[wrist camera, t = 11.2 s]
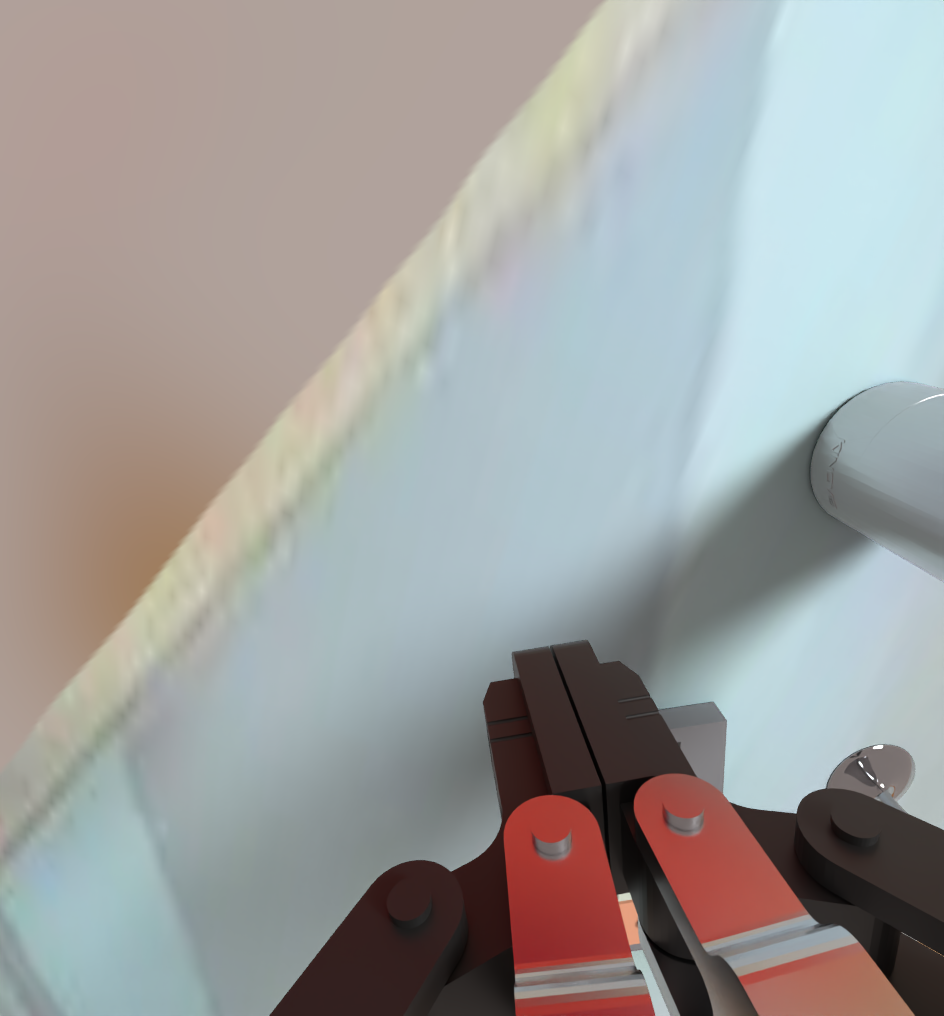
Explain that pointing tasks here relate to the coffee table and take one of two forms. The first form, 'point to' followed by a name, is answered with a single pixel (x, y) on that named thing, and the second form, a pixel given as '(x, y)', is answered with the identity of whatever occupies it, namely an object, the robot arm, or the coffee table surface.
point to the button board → (699, 743)
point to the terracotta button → (630, 921)
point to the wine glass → (876, 773)
